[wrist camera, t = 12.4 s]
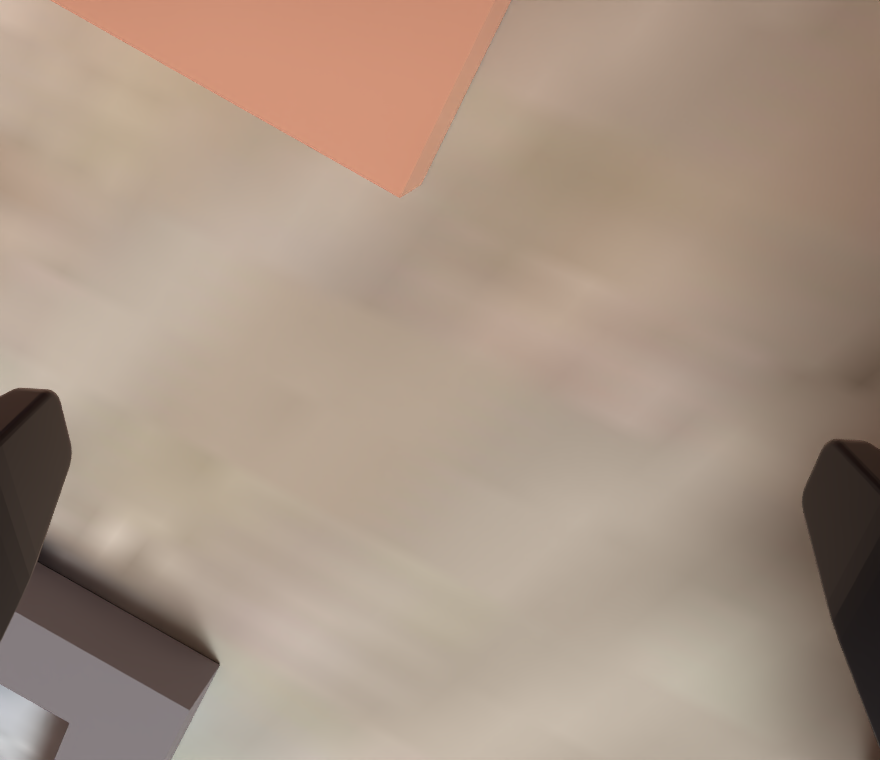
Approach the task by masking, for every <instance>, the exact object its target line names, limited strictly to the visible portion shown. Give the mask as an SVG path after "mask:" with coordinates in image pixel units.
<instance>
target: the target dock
mask: <svg viewBox="0 0 880 760" xmlns="http://www.w3.org/2000/svg"><path fill="white" fill-rule="evenodd" d="M51 1H53V2H55V3H56V4H58V5H60V6H62V7H63V8H65V9H67V10H69V11H71V12H72V13H74V14H76V15H78V16H79V17H81V18H83V19H85V20H86V21H88V22H90V23H92V24H93V25H95V26H97V27H99V28H101V29H102V30H104V31H106V32H108V33H109V34H111V35H113V36H115V37H116V38H118V39H120V40H122V41H124V42H125V43H127V44H129V45H131V46H132V47H134V48H136V49H138V50H139V51H141V52H143V53H145V54H147V55H148V56H150V57H152V58H154V59H155V60H157V61H159V62H161V63H162V64H164V65H166V66H168V67H169V68H171V69H173V70H175V71H177V72H178V73H180V74H182V75H184V76H185V77H187V78H189V79H191V80H192V81H194V82H196V83H198V84H200V85H201V86H203V87H205V88H207V89H208V90H210V91H212V92H214V93H215V94H217V95H219V96H221V97H222V98H224V99H226V100H228V101H230V102H231V103H233V104H235V105H237V106H238V107H240V108H242V109H244V110H245V111H247V112H249V113H251V114H253V115H254V116H256V117H258V118H260V119H261V120H263V121H265V122H267V123H268V124H270V125H272V126H274V127H275V128H277V129H279V130H281V131H283V132H284V133H286V134H288V135H290V136H291V137H293V138H295V139H297V140H298V141H300V142H302V143H304V144H306V145H307V146H309V147H311V148H313V149H314V150H316V151H318V152H320V153H321V154H323V155H325V156H327V157H329V158H330V159H332V160H334V161H336V162H337V163H339V164H341V165H343V166H344V167H346V168H348V169H350V170H351V171H353V172H355V173H357V174H359V175H360V176H362V177H364V178H366V179H367V180H369V181H371V182H373V183H374V184H376V185H378V186H380V187H382V188H383V189H385V190H387V191H389V192H390V193H392V194H394V195H396V196H397V197H399V198H400V197H402V196H404V195H405V194H407V193H409V192H410V191H412V190H413V189H415V188H417V187H418V186H420V185H421V184H422V182H423V180H424V178H425V176H426V174H427V172H428V170H429V168H430V166H431V163H432V161H433V159H434V157H435V155H436V153H437V151H438V149H439V147H440V145H441V143H442V141H443V139H444V137H445V135H446V133H447V131H448V129H449V127H450V125H451V123H452V121H453V119H454V117H455V114H456V112H457V110H458V108H459V106H460V104H461V102H462V100H463V98H464V96H465V94H466V92H467V90H468V88H469V86H470V84H471V82H472V80H473V78H474V76H475V74H476V72H477V70H478V68H479V65H480V63H481V61H482V59H483V57H484V55H485V53H486V51H487V49H488V47H489V45H490V43H491V41H492V39H493V37H494V35H495V33H496V31H497V29H498V27H499V25H500V23H501V21H502V19H503V16H504V14H505V12H506V10H507V8H508V6H509V4H510V2H511V0H51Z"/></svg>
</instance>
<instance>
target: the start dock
mask: <svg viewBox="0 0 880 760" xmlns="http://www.w3.org/2000/svg"><path fill="white" fill-rule="evenodd" d="M219 666H220V665H219V664H217V663H215V662H213V661H212V660H210V659H208V658H206V657H205V656H203V655H201V654H199V653H198V652H196V651H194V650H192V649H191V648H189V647H187V646H185V645H183V644H182V643H180V642H178V641H176V640H175V639H173V638H171V637H169V636H168V635H166V634H164V633H162V632H160V631H159V630H157V629H155V628H153V627H152V626H150V625H148V624H146V623H145V622H143V621H141V620H139V619H138V618H136V617H134V616H132V615H130V614H129V613H127V612H125V611H123V610H122V609H120V608H118V607H116V606H115V605H113V604H111V603H109V602H107V601H106V600H104V599H102V598H100V597H99V596H97V595H95V594H93V593H92V592H90V591H88V590H86V589H85V588H83V587H81V586H79V585H77V584H76V583H74V582H72V581H70V580H69V579H67V578H65V577H63V576H62V575H60V574H58V573H56V572H54V571H53V570H51V569H49V568H47V567H46V566H44V565H42V564H40V563H39V562H37V563H36V565H35V568H34V571H33V573H32V576H31V579H30V581H29V583H28V585H27V588H26V590H25V592H24V594H23V597H22V599H21V601H20V603H19V605H18V607H17V609H16V611H15V613H14V615H13V617H12V619H11V622H10V624H9V626H8V628H7V630H6V632H5V634H4V636H3V638H2V640H1V642H0V684H1V685H3V686H5V687H6V688H8V689H10V690H12V691H14V692H15V693H17V694H19V695H21V696H22V697H24V698H26V699H28V700H29V701H31V702H33V703H35V704H37V705H38V706H40V707H42V708H44V709H45V710H47V711H49V712H51V713H52V714H54V715H56V716H58V717H59V718H61V719H63V720H65V721H67V722H68V723H69V725H68V728H67V730H66V733H65V735H64V738H63V740H62V742H61V745H60V747H59V750H58V752H57V754H56V757H55V759H54V760H171V758H172V757H173V755H174V753H175V751H176V749H177V747H178V745H179V743H180V741H181V739H182V737H183V735H184V733H185V731H186V730H187V728H188V726H189V724H190V722H191V720H192V718H193V716H194V714H195V712H196V710H197V708H198V706H199V704H200V702H201V701H202V699H203V697H204V695H205V693H206V691H207V689H208V687H209V685H210V683H211V681H212V679H213V677H214V675H215V673H216V672H217V670H218V668H219Z"/></svg>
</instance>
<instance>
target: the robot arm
mask: <svg viewBox="0 0 880 760" xmlns="http://www.w3.org/2000/svg"><path fill="white" fill-rule="evenodd" d="M71 454H72V451H71V443H70V439H69V434H68V430H67V426H66V422H65V418H64V414H63V410H62V406H61V402H60V400H59V397H58V396H57V394H56V393H55V392H53V391H52V390H48V389H33V388H17V389H14V390H11V391H9V392H7V393H6V394H4V395H2V396H0V642H1V640H2V638H3V636H4V634H5V632H6V630H7V628H8V626H9V624H10V622H11V619H12V617H13V615H14V613H15V611H16V609H17V607H18V605H19V603H20V601H21V599H22V597H23V594H24V592H25V590H26V588H27V585H28V583H29V581H30V579H31V576H32V573H33V571H34V568H35V565H36V563H37V560H38V557H39V554H40V551H41V548H42V546H43V543H44V540H45V537H46V534H47V531H48V528H49V525H50V522H51V519H52V516H53V513H54V510H55V508H56V505H57V502H58V499H59V496H60V493H61V490H62V487H63V484H64V481H65V478H66V475H67V472H68V470H69V466H70V462H71ZM802 507H803V513H804V517H805V520H806V524H807V528H808V532H809V536H810V540H811V544H812V548H813V552H814V556H815V560H816V563H817V567H818V571H819V575H820V579H821V583H822V587H823V591H824V595H825V599H826V603H827V606H828V609H829V613H830V616H831V620H832V623H833V626H834V629H835V631H836V634H837V637H838V640H839V643H840V645H841V648H842V651H843V653H844V656H845V659H846V661H847V664H848V666H849V669H850V672H851V674H852V677H853V680H854V682H855V685H856V687H857V690H858V693H859V695H860V698H861V701H862V703H863V706H864V709H865V711H866V714H867V716H868V719H869V722H870V724H871V727H872V730H873V732H874V735H875V737H876V740H877V743H878V745H879V748H880V450H879V449H878V448H876V447H875V446H873V445H871V444H870V443H868V442H865V441H860V440H844V439H833V440H831V441H829V442H827V443H826V444H825V445H824V447H823V449H822V450H821V453H820V455H819V457H818V459H817V462H816V464H815V466H814V468H813V470H812V473H811V475H810V477H809V479H808V481H807V484H806V486H805V488H804V491H803V496H802Z"/></svg>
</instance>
